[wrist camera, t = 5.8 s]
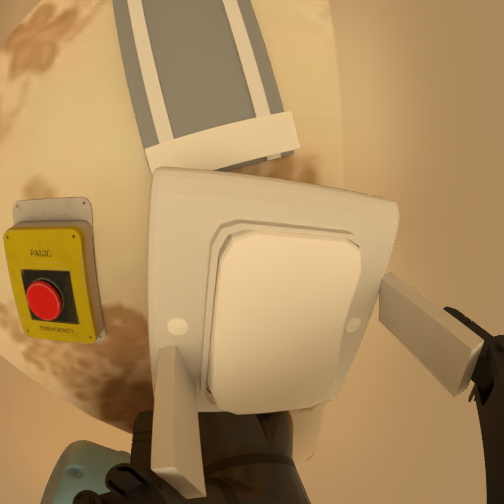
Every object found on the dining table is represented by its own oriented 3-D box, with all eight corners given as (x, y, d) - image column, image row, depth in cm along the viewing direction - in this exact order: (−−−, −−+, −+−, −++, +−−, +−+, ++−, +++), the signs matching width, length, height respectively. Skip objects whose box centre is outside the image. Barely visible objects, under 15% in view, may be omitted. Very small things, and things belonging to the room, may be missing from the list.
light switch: (155, 450, 11) (139, 174, 7) (156, 394, 15) (156, 164, 11) (348, 432, 14) (440, 218, 10) (323, 387, 18) (383, 196, 13)
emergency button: (23, 354, 21) (-9, 208, 17) (38, 332, 25) (15, 199, 21) (99, 365, 23) (75, 203, 18) (109, 339, 27) (93, 195, 23)
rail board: (291, 153, 24) (307, 153, 21) (157, 191, 23) (151, 196, 20) (222, -64, 15) (227, -84, 12) (109, -39, 14) (102, -58, 10)
